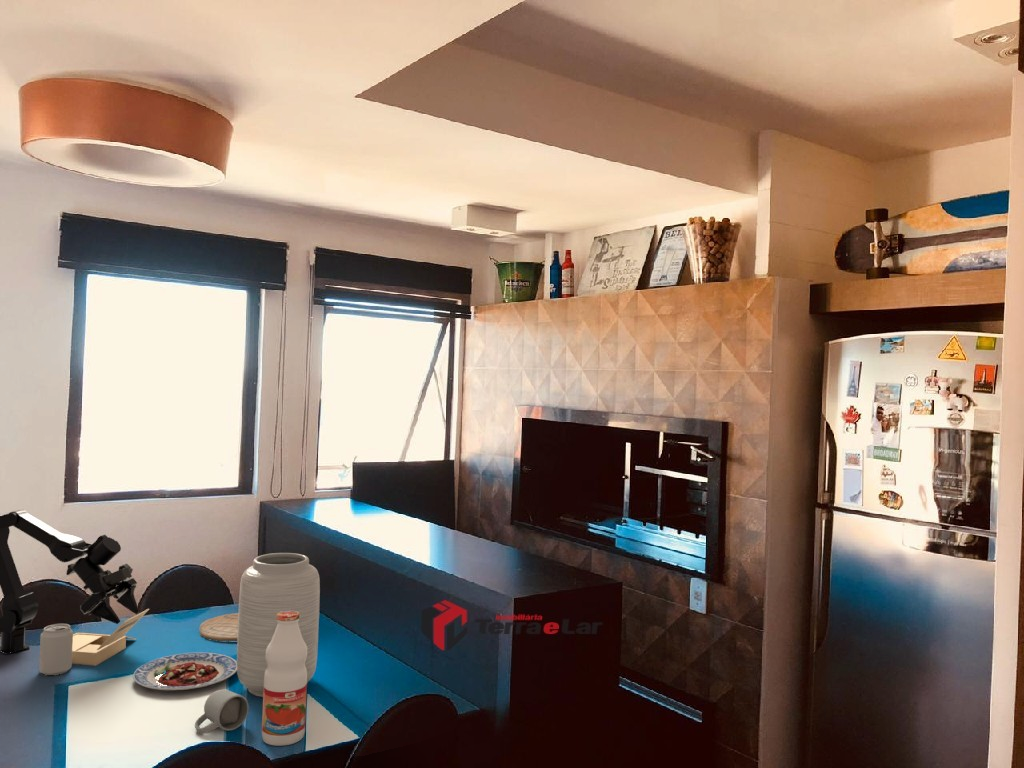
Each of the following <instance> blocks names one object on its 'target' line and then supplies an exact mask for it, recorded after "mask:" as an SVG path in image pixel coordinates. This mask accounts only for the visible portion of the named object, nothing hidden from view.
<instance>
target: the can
mask: <svg viewBox="0 0 1024 768" xmlns="http://www.w3.org/2000/svg"><path fill="white" fill-rule="evenodd" d="M73 634H74V631H73V629H72V628H71V625H70V624H68V623H53V624H50V625H47V626H45V627H43V631H42V632H41V633H40V637H39V638H40V642H39V662H38V663H39V665H38V671H39V673H41V674H42V673H43V674H45V675H44V676H47V675H54V676H58V675H59V674H60V675H62V674H65V673H67V672H68V671H69V670H70V669H71V668H72V667H73V666H72V665H73V664H72V645H73ZM43 674H42V675H43Z"/></svg>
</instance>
